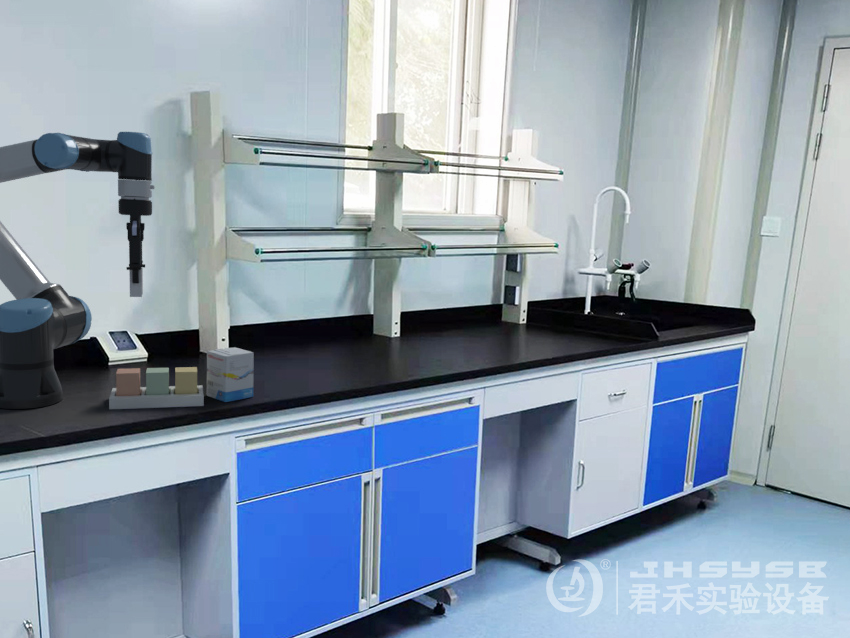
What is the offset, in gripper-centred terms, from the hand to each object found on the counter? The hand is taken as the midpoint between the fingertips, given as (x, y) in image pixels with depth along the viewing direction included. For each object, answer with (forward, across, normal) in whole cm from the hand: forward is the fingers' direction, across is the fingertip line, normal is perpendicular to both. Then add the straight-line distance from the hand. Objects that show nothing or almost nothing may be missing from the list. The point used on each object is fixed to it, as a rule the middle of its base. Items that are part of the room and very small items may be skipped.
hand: (136, 295), depth 183 cm
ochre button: (+23, -9, -11) cm, 27 cm away
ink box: (+25, -6, -22) cm, 34 cm away
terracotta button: (+23, -9, +2) cm, 25 cm away
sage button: (+23, -9, -5) cm, 25 cm away
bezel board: (+25, -9, -5) cm, 27 cm away
